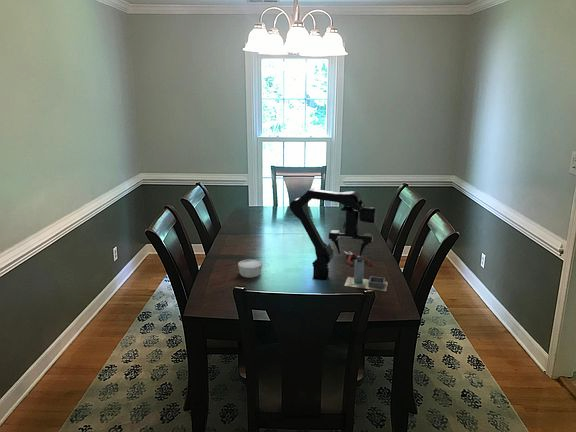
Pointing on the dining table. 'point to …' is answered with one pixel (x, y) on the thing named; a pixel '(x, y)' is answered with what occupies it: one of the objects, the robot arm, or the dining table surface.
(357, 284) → the pad
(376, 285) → the gray square frame
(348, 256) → the pliers
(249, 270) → the ramekin
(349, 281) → the board
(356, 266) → the capped bottle
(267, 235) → the dining table surface
